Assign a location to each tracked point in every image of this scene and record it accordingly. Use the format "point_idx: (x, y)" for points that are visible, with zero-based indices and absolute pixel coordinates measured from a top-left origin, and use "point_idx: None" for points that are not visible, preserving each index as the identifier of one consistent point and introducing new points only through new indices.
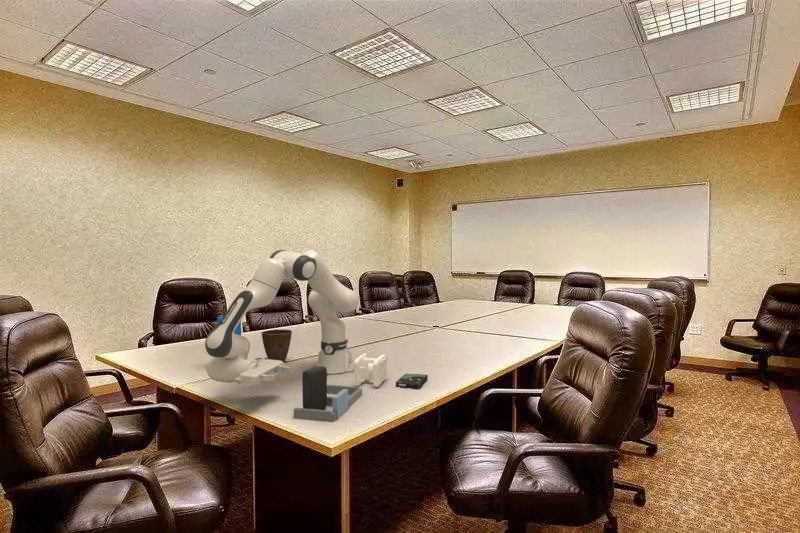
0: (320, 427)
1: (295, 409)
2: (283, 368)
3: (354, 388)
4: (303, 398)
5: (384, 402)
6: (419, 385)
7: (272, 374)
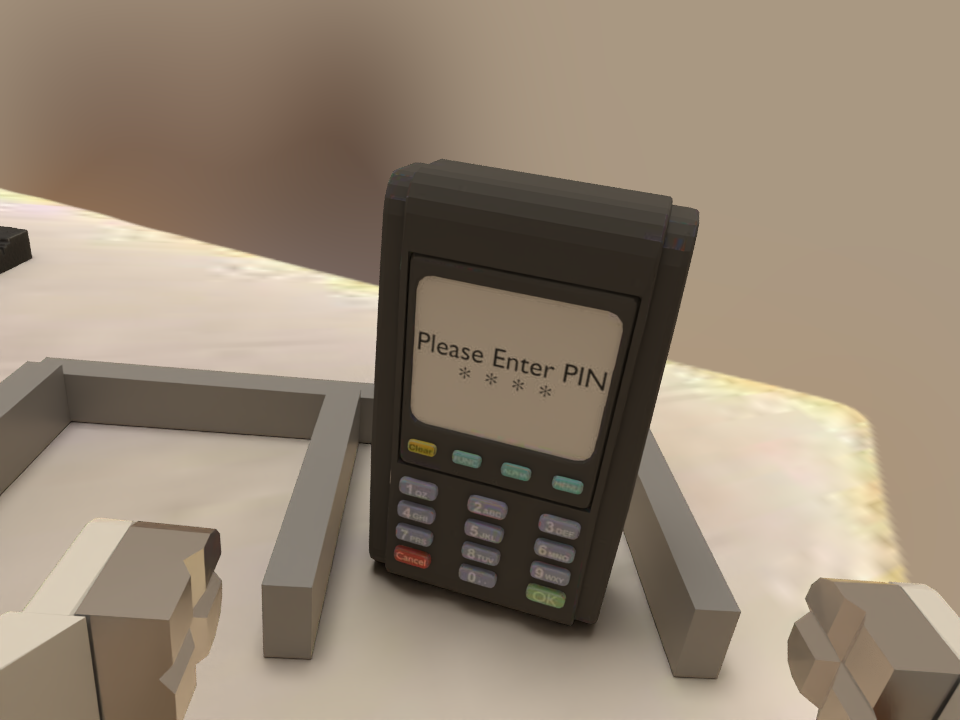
0: (735, 480)
1: (731, 597)
2: (24, 706)
3: (50, 381)
4: (629, 504)
5: (250, 328)
6: (26, 236)
7: (898, 653)
